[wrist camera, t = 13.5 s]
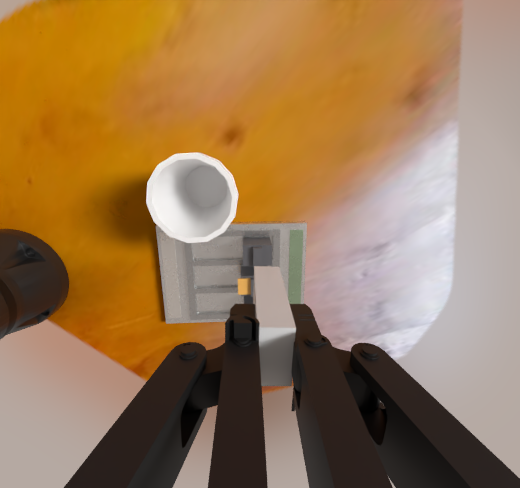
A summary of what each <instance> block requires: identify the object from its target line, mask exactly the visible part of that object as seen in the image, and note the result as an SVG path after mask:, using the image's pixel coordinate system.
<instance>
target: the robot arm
mask: <svg viewBox="0 0 520 488" xmlns="http://www.w3.org/2000/svg"><path fill="white" fill-rule="evenodd" d="M68 289H69V279H68V274H67V271H66V268H65V266H64V264H63V262H62V260H61V258H60V257H59V256H58V254H57V253H56V252H55V251H54V250H53V249H52V248H51V247H50V246H49V245H48V244H46V243H45V242H44V241H42V240H41V239H39V238H37V237H35V236H33V235H31V234H29V233H26V232H23V231H19V230H13V229H0V339H1V338H3V337H4V336H5V335H7V334H10V333H13V332H16V331H19V330H22V329H25V328H27V327H30V326H33V325H36V324H39V323H40V322H42V321H44V320H46V319H47V318H48V317H50V316H51V315H52V314H53V313H55V312H56V311H57V310H58V309H59V308H60V307H61V306H62V304H63V303H64V301H65V299H66V297H67V294H68ZM292 378H293V383H294V388H293V400H292V411H294V410H296V416H297V421H298V427H299V432H300V438H301V443H302V449H303V454H304V460H305V465H306V471H307V476H308V482H309V488H392V485H391V483H390V480H391V481H392V483H393V484H394V486H395V487H396V488H520V478H518V477H517V476H516V475H515V474H514V473H513V472H512V471H511V470H510V469H509V468H508V467H507V466H506V465H505V464H504V463H503V462H502V461H500V460H499V459H498V458H497V457H496V456H495V455H494V454H493V453H492V452H491V451H490V450H489V449H487V448H486V446H485V445H483V444H482V443H481V442H480V441H479V440H478V439H477V438H476V437H475V436H474V435H473V434H472V433H471V432H470V431H468V430H467V429H466V428H465V427H464V426H463V425H462V424H461V423H460V422H459V421H458V420H457V419H456V418H455V417H454V416H453V415H452V414H450V413H449V412H448V411H447V410H446V409H445V408H444V407H443V406H442V405H441V404H440V403H439V402H438V401H437V400H436V399H435V398H434V397H432V396H431V395H430V394H429V393H428V392H427V391H426V390H425V389H424V388H423V387H422V386H421V385H420V384H419V383H418V382H416V381H415V380H414V379H413V378H412V377H411V376H410V375H409V374H408V373H407V372H406V371H405V370H404V369H403V368H402V367H401V366H400V365H399V364H397V363H396V362H395V361H394V360H393V359H392V358H391V357H390V356H389V355H388V354H387V353H386V352H385V351H384V350H382V349H381V348H379V347H377V346H375V345H373V344H368V343H358V344H355V345H354V346H353V347H352V348H351V352H350V351H345V350H341V349H337V348H334V347H332V345H331V343H330V341H329V340H328V339H327V338H326V337H325V336H323V335H321V333H320V330H319V328H318V325H317V323H316V321H315V318H314V316H313V313H312V310H311V309H310V308H309V307H308V306H307V305H306V304H289V300H288V297H287V293H286V289H285V286H284V282H283V278H282V275H281V271H280V267H268V266H254V288H253V304H234V306H233V307H232V308H231V309H230V318H228V319H227V321H226V323H225V343H224V344H223V345H221V346H220V347H218V348H215V349H211V350H207V351H206V349H205V347H204V346H203V345H201V344H199V343H196V342H188V343H183V344H180V345H178V346H176V347H175V348H174V349H173V350H171V352H170V353H169V354H168V356H167V357H166V358H165V359H164V361H163V362H162V363H161V365H160V366H159V367H158V368H157V370H156V371H155V372H154V373H153V375H152V376H151V377H150V379H149V380H148V381H147V382H146V384H145V385H144V386H143V388H142V389H141V390H140V391H139V393H138V394H137V395H136V396H135V398H134V399H133V400H132V401H131V403H130V404H129V405H128V407H127V408H126V409H125V410H124V412H123V413H122V414H121V416H120V417H119V418H118V420H117V421H116V422H115V423H114V424H113V426H112V427H111V428H110V429H109V431H108V432H107V433H106V435H105V436H104V437H103V438H102V440H101V441H100V442H99V443H98V445H97V446H96V447H95V449H94V450H93V451H92V453H91V454H90V455H89V456H88V458H87V459H86V460H85V461H84V463H83V464H82V465H81V466H80V468H79V469H78V470H77V472H76V473H75V474H74V475H73V477H72V478H71V479H70V480H69V482H68V483H67V484H66V486H65V487H64V488H172V487H173V485H174V483H175V481H176V479H177V476H178V474H179V472H180V470H181V468H182V465H183V463H184V461H185V459H186V457H187V454H188V452H189V450H190V448H191V445H192V443H193V441H194V439H195V437H196V435H197V432H198V430H199V428H200V426H201V424H202V422H203V419H204V417H205V415H206V412H207V408H209V407H212V406H216V405H218V407H217V416H216V424H215V433H214V441H213V450H212V458H211V466H210V475H209V483H208V488H267V471H266V454H265V439H264V438H265V437H264V420H263V405H262V386H291V384H292ZM380 401H381V402H382V403H383V404H382V403H381V402H380ZM387 475H388V476H387ZM388 477H389V478H390V480H389V478H388Z"/></svg>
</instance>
